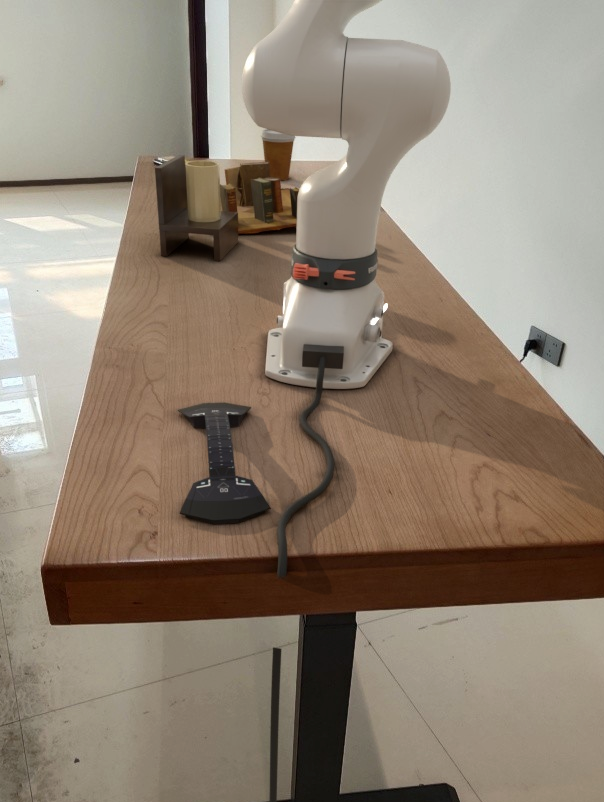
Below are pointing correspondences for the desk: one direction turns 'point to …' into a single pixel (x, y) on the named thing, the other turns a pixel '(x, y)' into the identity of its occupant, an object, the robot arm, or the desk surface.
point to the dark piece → (221, 470)
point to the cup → (203, 191)
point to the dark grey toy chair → (176, 216)
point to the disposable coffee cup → (278, 153)
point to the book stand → (258, 199)
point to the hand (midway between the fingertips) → (274, 103)
